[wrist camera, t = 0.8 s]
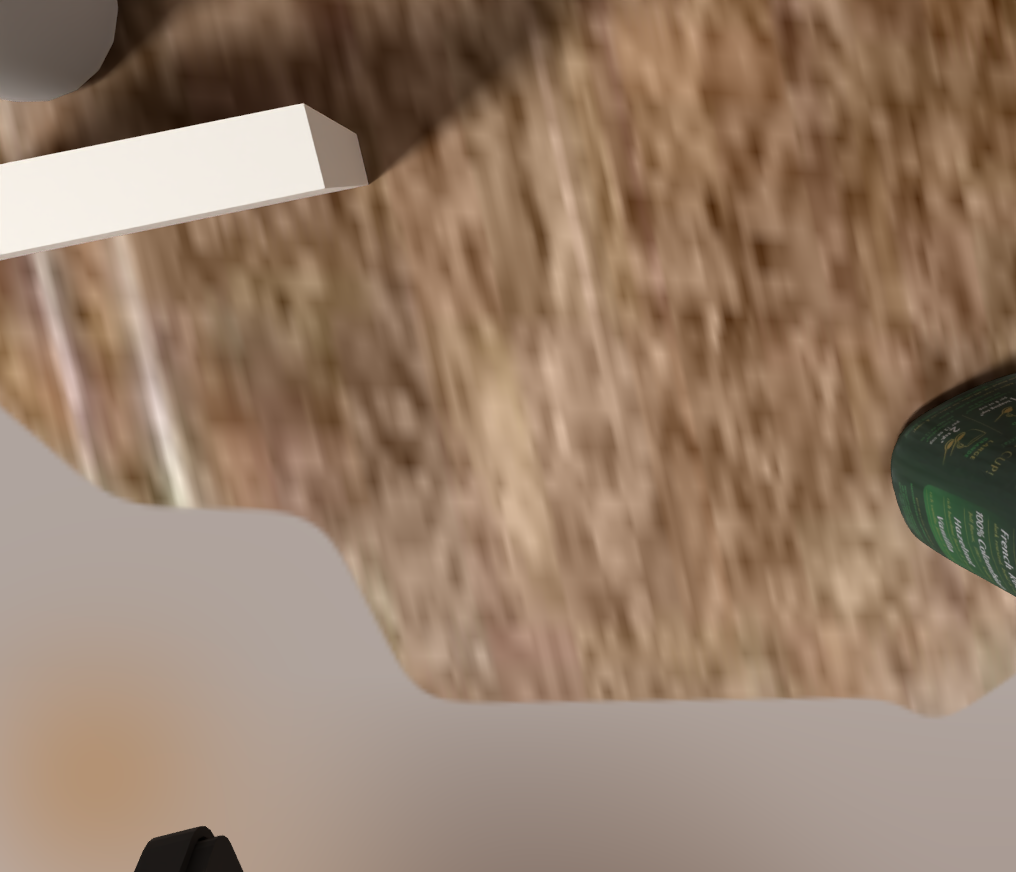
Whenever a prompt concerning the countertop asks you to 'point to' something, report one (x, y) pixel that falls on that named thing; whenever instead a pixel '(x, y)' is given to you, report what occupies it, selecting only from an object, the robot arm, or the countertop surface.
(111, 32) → the can
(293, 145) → the rack
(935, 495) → the coffee jar
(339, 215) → the countertop surface
